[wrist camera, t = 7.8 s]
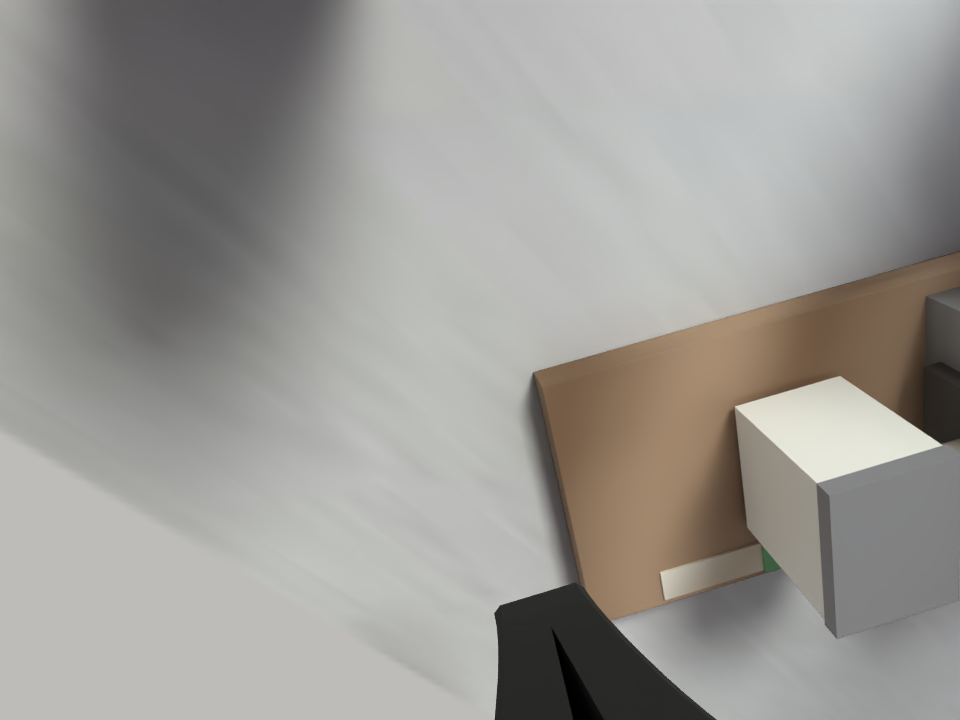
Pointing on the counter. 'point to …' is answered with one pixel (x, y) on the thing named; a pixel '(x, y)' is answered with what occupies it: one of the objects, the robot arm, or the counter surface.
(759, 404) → the block
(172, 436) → the counter surface
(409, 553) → the counter surface
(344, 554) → the counter surface
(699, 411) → the frame
